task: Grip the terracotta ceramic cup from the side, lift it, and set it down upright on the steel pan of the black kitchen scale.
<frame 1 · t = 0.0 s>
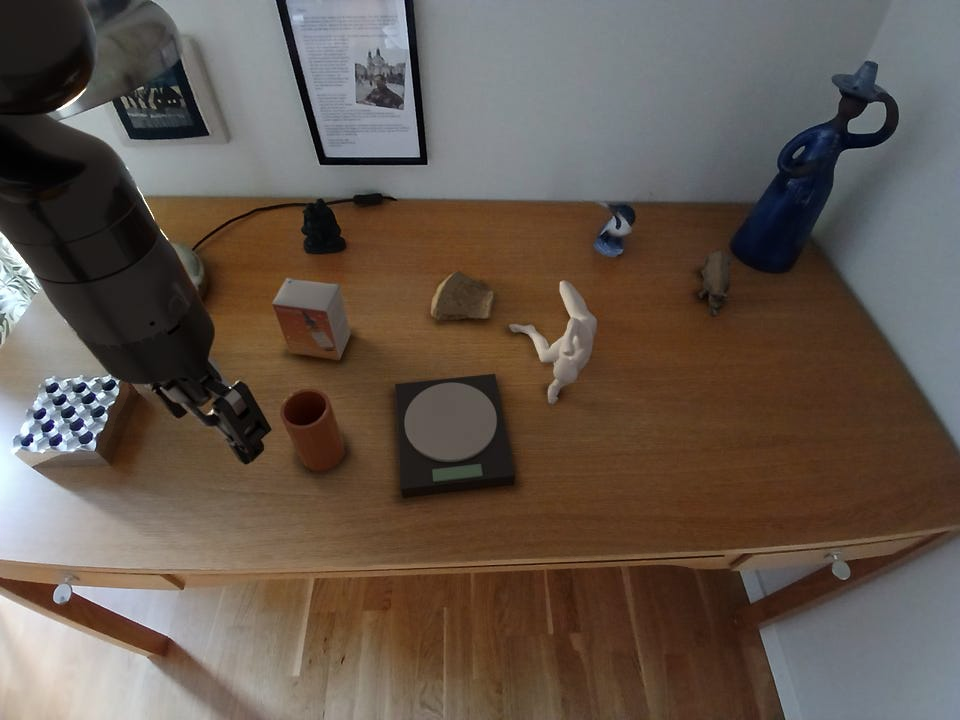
hand: (218, 432, 49), 22 cm above the table, tool pointing down, fingers open, 8 cm apart
small box: (321, 344, 85), on the table
scale: (452, 437, 74), on the table
white cup: (145, 332, 86), on the table
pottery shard: (466, 303, 91), on the table
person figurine: (564, 361, 83), on the table
cup: (322, 451, 73), on the table
rhino figurine: (709, 299, 92), on the table
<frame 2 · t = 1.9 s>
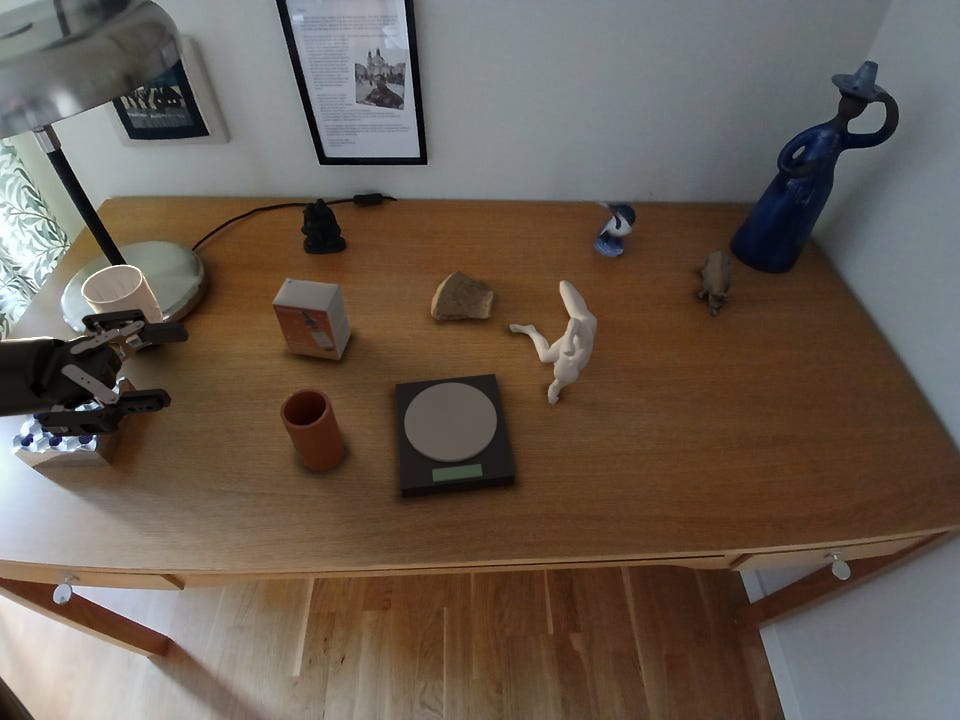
hand: (177, 363, 56), 20 cm above the table, tool horizontal, fingers open, 8 cm apart
nothing on the table moved.
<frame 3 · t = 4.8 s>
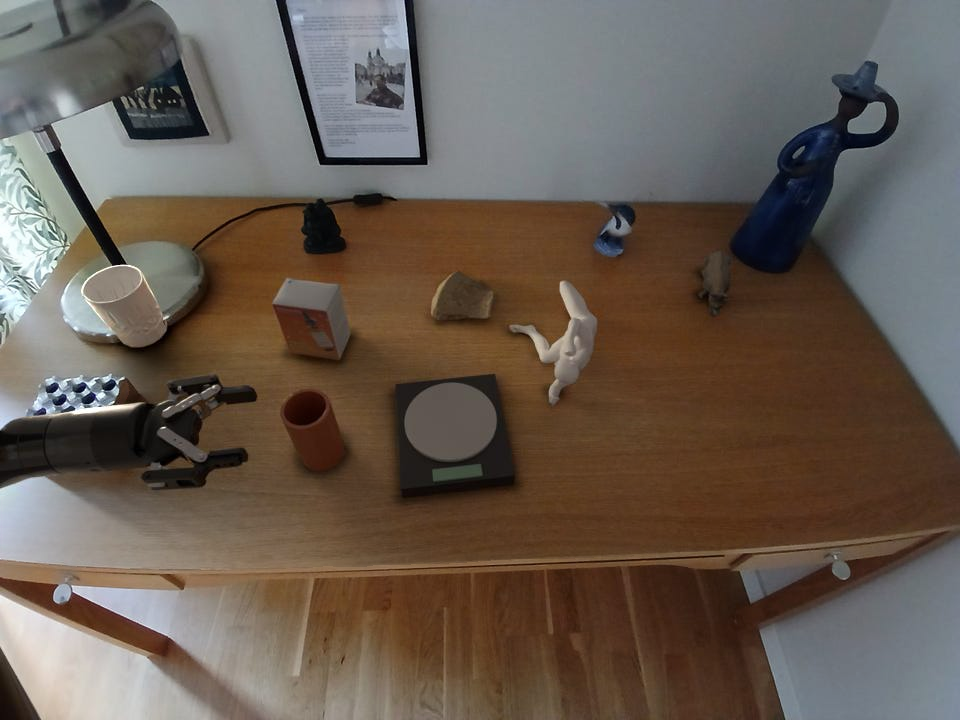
hand: (251, 422, 66), 8 cm above the table, tool horizontal, fingers open, 8 cm apart
nothing on the table moved.
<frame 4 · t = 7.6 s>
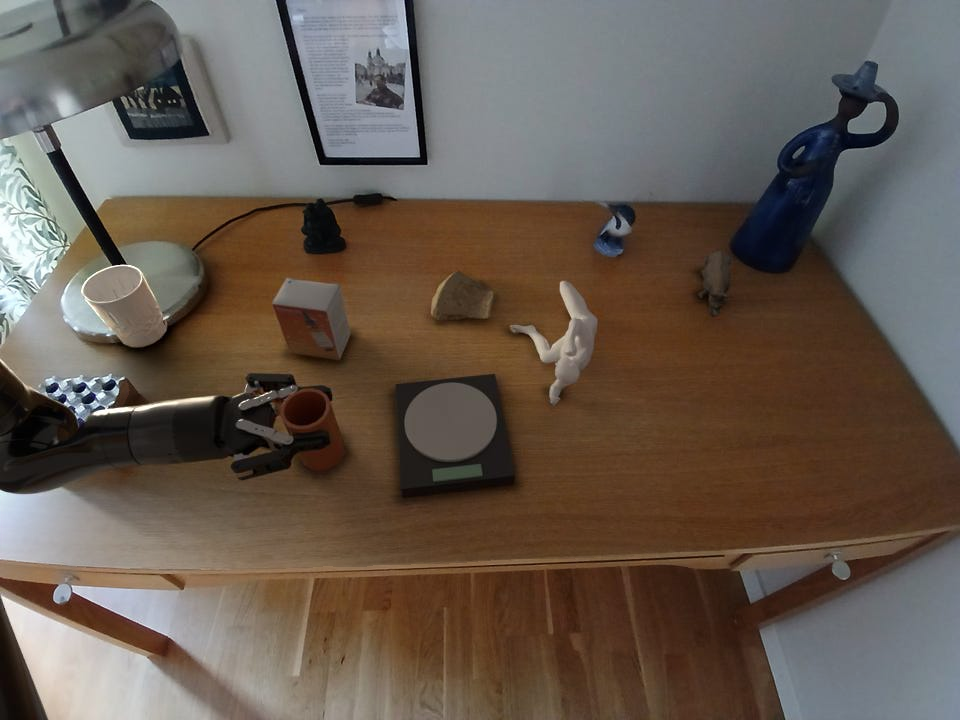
hand: (329, 415, 67), 8 cm above the table, tool horizontal, fingers closed on cup, 5 cm apart
cup: (322, 451, 73), on the table, touching gripper
everything else where it was.
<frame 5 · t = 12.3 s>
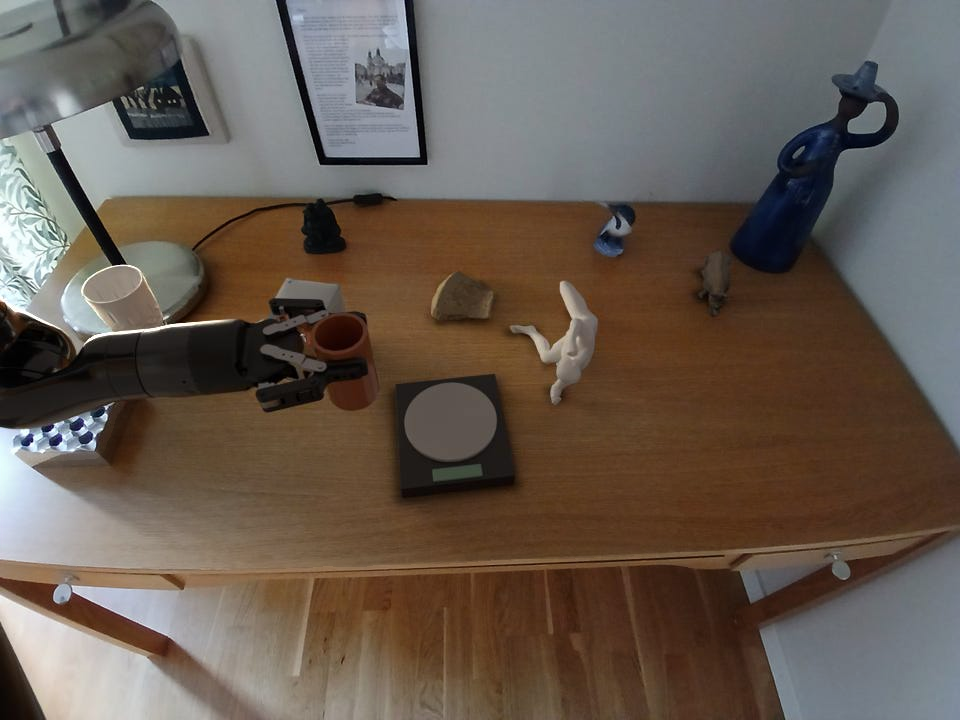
hand: (366, 343, 58), 20 cm above the table, tool horizontal, fingers closed on cup, 5 cm apart
cup: (354, 390, 64), point 12 cm above the table, touching gripper
everything else where it was.
when the fingers open (11 cm above the table, at t = 17.2 s): cup stays where it is, resting on scale.
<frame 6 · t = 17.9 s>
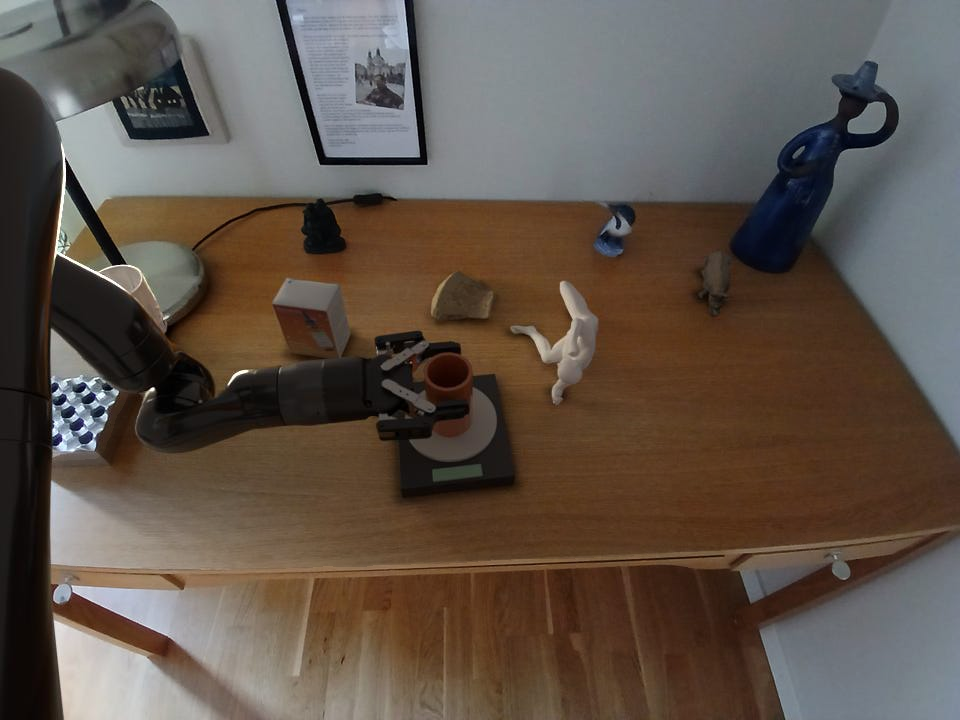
hand: (464, 377, 66), 12 cm above the table, tool horizontal, fingers open, 8 cm apart
cup: (450, 418, 72), point 3 cm above the table, touching scale
everything else where it was.
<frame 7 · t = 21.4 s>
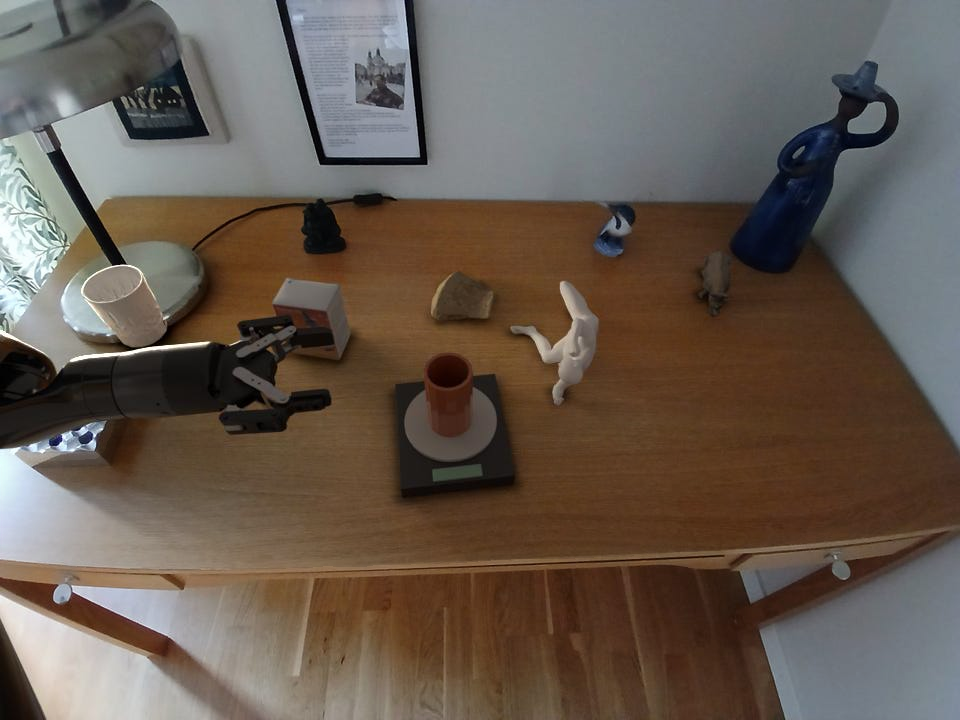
hand: (331, 365, 60), 17 cm above the table, tool horizontal, fingers open, 8 cm apart
nothing on the table moved.
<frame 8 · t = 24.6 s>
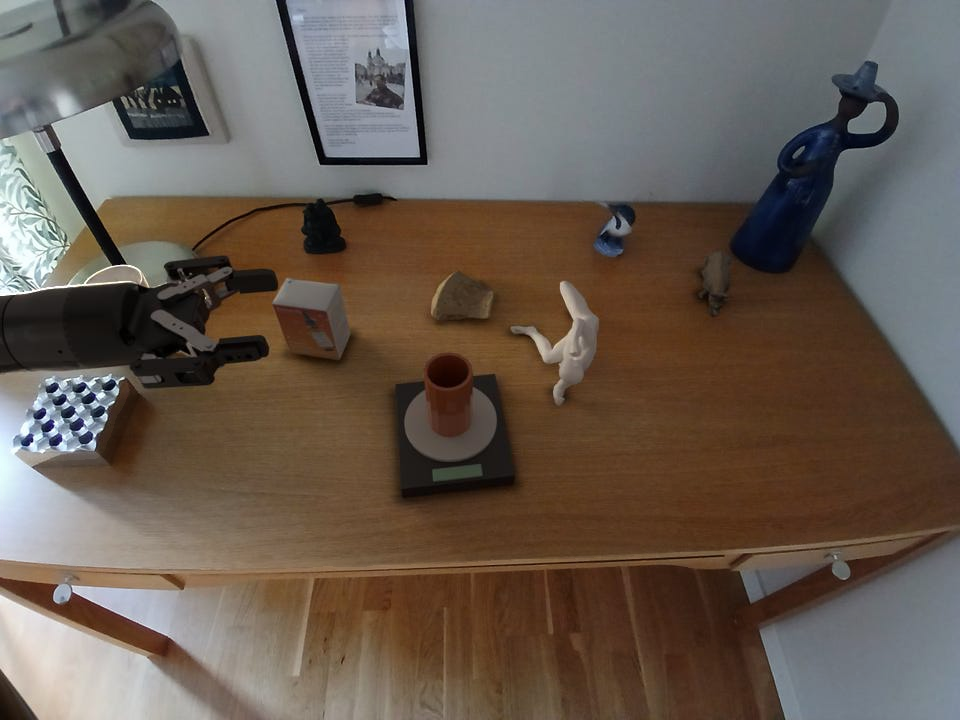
hand: (271, 310, 51), 27 cm above the table, tool horizontal, fingers open, 8 cm apart
nothing on the table moved.
at the end: cup inside the target area on the scale (0.1 cm from its centre), point 3.1 cm above the scale's base; cup tilted 0°; the gripper is holding nothing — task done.
